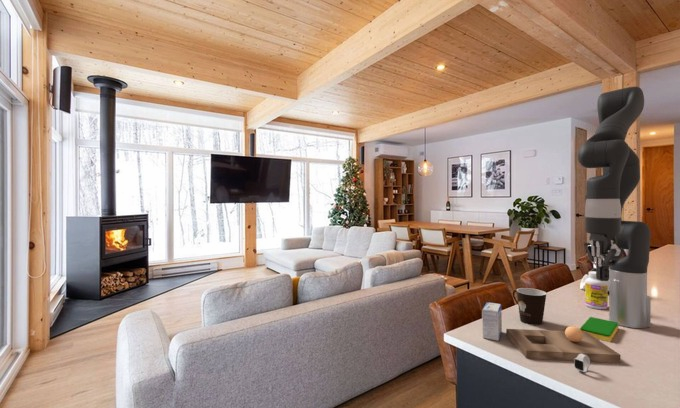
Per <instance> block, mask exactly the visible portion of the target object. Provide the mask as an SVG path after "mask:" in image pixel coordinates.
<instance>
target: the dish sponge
mask: <svg viewBox="0 0 680 408" xmlns="http://www.w3.org/2000/svg"><path fill="white" fill-rule="evenodd" d="M579 329H580V330H581V331H582V332H587V333H589V334H590V335H592V336H593V337H595V338H596V339H598V340H599V341H603V342H608V343H611V341H612V340H613V338H614V337H615V335H616V334H617V332H618V330H619V325H618V323H617V322H613V321H610V320H608V319H603V318H598V317H594V316H590V317H588V319H587V320H586V321H585V322H584V323H583V324H582V325H581V327H580V328H579Z"/></svg>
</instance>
